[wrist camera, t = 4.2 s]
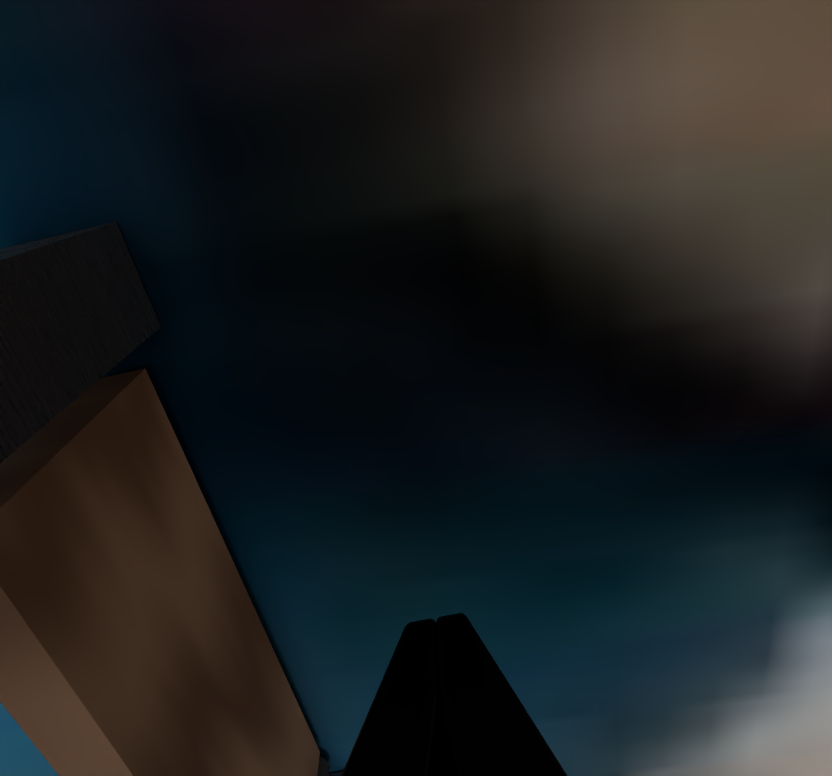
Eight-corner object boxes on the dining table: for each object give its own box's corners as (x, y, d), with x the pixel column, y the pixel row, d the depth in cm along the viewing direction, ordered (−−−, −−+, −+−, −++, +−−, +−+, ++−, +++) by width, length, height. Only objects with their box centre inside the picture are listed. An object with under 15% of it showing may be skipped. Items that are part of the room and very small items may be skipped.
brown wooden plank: (333, 776, 20) (312, 1023, 14) (270, 787, 20) (224, 1037, 14) (149, 367, 13) (-26, 538, 8) (55, 388, 13) (-183, 570, 8)
